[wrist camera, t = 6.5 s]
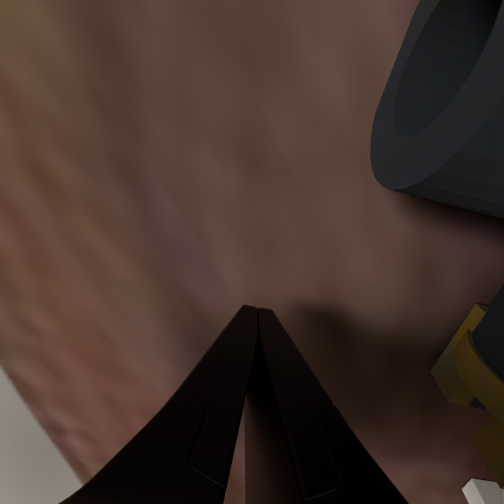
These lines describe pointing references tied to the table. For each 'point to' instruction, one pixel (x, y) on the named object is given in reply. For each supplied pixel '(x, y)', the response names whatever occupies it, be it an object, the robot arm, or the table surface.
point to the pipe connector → (454, 171)
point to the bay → (483, 492)
